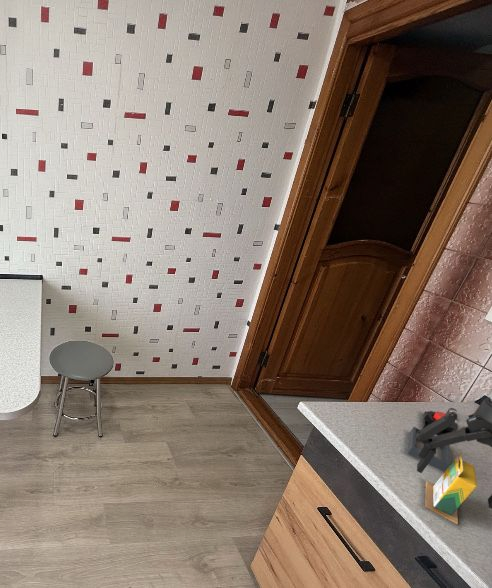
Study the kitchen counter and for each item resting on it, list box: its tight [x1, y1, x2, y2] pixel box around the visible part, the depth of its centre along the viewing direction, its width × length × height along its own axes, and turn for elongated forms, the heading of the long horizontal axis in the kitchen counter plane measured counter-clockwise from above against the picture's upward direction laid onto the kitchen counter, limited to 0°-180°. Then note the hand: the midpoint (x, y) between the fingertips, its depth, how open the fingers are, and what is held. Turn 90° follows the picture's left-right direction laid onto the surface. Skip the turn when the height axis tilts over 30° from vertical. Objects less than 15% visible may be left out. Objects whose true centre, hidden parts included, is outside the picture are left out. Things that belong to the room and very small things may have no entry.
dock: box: [407, 426, 452, 472], centre depth 88 cm, size 7×11×2 cm
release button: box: [433, 411, 446, 420], centre depth 96 cm, size 4×4×2 cm
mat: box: [424, 480, 459, 525], centre depth 74 cm, size 5×9×1 cm, turn 135°
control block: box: [422, 410, 459, 436], centre depth 96 cm, size 9×6×3 cm
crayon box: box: [433, 451, 478, 516], centre depth 72 cm, size 7×3×12 cm, turn 135°
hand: (453, 485), depth 72 cm, fingers open, 10 cm apart
